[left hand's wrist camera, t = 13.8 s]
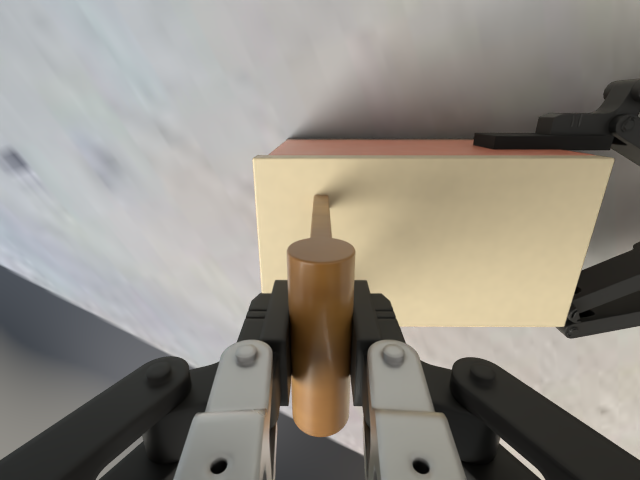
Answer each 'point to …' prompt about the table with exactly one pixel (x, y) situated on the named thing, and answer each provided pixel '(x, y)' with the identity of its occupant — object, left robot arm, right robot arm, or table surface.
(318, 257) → the lid
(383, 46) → the table surface
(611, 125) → the right robot arm
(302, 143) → the chest
